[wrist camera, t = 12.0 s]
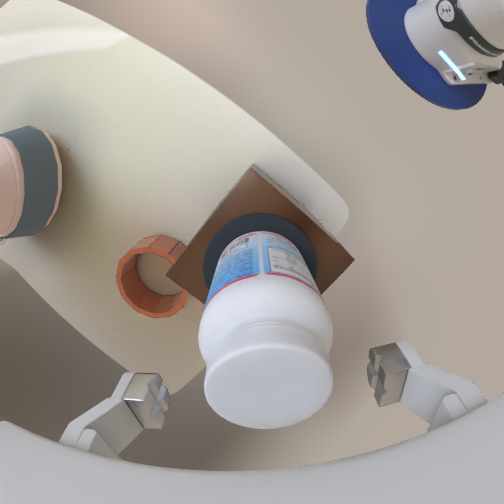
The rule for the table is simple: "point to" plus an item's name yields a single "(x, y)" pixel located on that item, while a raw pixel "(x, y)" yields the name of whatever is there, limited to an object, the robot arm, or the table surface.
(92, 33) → the table surface
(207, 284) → the coaster
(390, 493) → the robot arm
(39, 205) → the desk lamp
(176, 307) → the desk pot
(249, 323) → the pill bottle
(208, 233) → the riser
